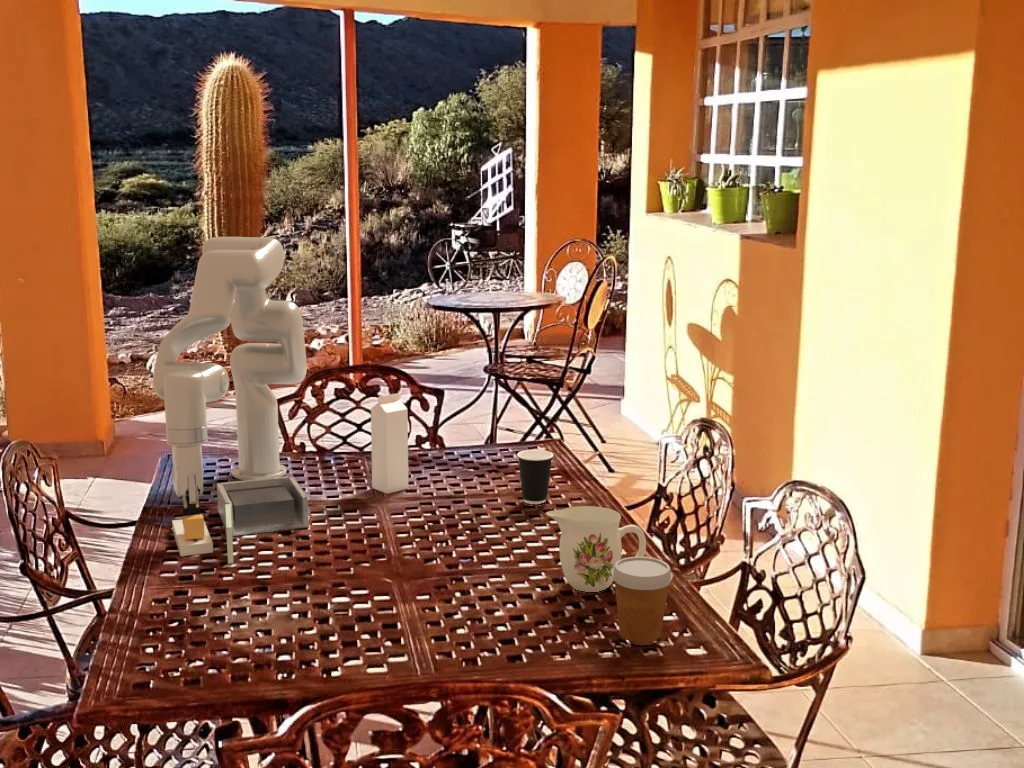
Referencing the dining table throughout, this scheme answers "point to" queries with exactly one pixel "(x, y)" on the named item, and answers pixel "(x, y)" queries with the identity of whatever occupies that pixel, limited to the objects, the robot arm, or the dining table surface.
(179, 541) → the fader panel
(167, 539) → the dining table surface
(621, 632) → the disposable coffee cup
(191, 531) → the fader knob
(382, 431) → the milk
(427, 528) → the dining table surface
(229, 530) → the door
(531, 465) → the dixie cup
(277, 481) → the grey open tray
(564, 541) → the pitcher
